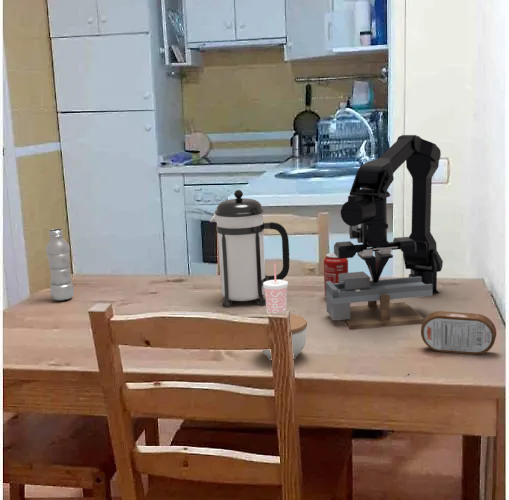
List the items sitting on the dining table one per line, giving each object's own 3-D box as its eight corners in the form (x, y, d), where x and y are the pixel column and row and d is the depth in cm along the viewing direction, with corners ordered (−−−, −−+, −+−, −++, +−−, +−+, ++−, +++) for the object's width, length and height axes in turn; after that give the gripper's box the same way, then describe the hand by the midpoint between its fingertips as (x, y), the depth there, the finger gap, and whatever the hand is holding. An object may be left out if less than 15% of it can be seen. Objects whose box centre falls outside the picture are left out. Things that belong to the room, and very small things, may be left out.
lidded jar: (269, 370, 142) (267, 326, 140) (248, 353, 151) (246, 311, 149) (316, 360, 146) (315, 317, 144) (293, 344, 156) (292, 303, 153)
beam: (419, 301, 176) (419, 272, 175) (433, 312, 168) (433, 281, 166) (325, 310, 174) (325, 280, 172) (334, 321, 165) (333, 290, 164)
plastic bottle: (46, 302, 197) (37, 232, 193) (61, 295, 203) (53, 227, 199) (65, 303, 195) (57, 232, 190) (79, 297, 201) (72, 228, 196)
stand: (404, 305, 179) (404, 279, 177) (424, 323, 165) (424, 294, 164) (335, 311, 177) (334, 284, 175) (349, 329, 163) (349, 300, 162)
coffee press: (243, 313, 179) (237, 196, 172) (205, 301, 191) (198, 191, 184) (292, 298, 190) (288, 187, 183) (253, 288, 202) (248, 183, 195)
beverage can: (348, 294, 191) (347, 251, 188) (348, 301, 184) (348, 257, 182) (324, 295, 191) (323, 252, 189) (324, 302, 185) (323, 257, 183)
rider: (363, 287, 172) (363, 271, 171) (370, 293, 166) (369, 277, 166) (339, 289, 171) (339, 273, 170) (345, 295, 166) (344, 279, 165)
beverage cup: (261, 320, 172) (258, 265, 169) (269, 313, 178) (266, 259, 175) (285, 322, 170) (282, 266, 167) (292, 314, 176) (290, 260, 173)
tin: (495, 352, 146) (497, 313, 144) (495, 357, 143) (496, 318, 141) (421, 346, 151) (421, 308, 149) (419, 351, 148) (419, 313, 146)
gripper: (401, 210, 175) (402, 271, 178) (327, 215, 173) (329, 277, 176) (417, 217, 164) (417, 282, 167) (338, 223, 162) (340, 289, 165)
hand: (375, 282), depth 169 cm, fingers closed
